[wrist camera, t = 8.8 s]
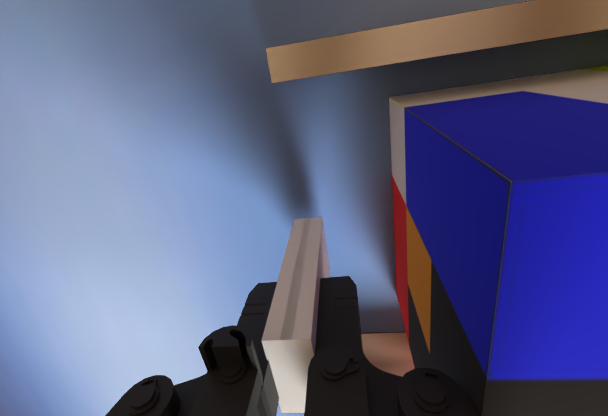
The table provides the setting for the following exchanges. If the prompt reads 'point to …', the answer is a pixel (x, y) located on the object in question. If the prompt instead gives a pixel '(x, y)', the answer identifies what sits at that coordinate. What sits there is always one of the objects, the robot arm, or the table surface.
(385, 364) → the wooden open frame
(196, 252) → the table surface
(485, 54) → the table surface
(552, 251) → the puzzle toy
